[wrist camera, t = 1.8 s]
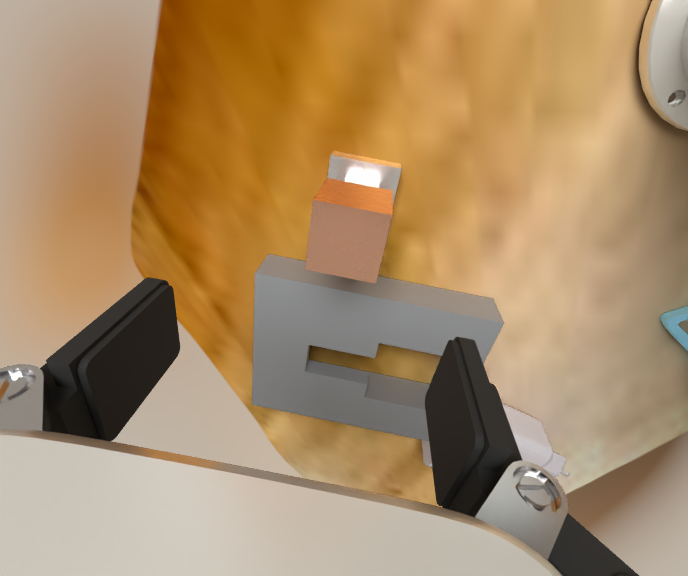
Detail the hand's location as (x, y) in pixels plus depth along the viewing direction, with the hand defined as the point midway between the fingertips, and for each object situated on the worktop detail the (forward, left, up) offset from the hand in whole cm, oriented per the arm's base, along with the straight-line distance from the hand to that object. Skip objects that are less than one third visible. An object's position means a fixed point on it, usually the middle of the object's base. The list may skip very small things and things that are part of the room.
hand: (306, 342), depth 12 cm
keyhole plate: (-3, +15, -18) cm, 23 cm away
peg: (0, 0, -18) cm, 18 cm away
